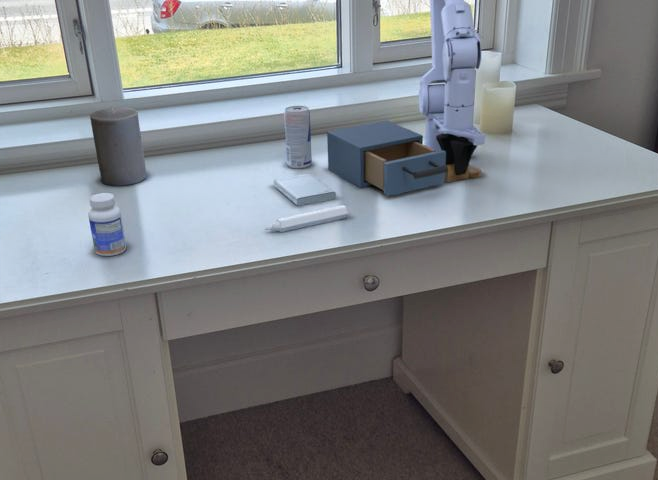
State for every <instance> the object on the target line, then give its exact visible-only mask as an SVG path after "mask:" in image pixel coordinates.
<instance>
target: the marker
mask: <svg viewBox="0 0 658 480" xmlns="http://www.w3.org/2000/svg"><path fill="white" fill-rule="evenodd" d="M348 215H349V213H348V209H347V206H345V205H344V204H342V205H336V206H332V207H327V208H321V209H318V210H313V211H309V212H308V211H307V212H304V213H299V214H294V215H289V216H285V217H281V218H277V219H276V221H274V223H272V224H270V225H269V226H268V227H265V228H264V231H265V230H267V231H275V232H279V233H286V232H289V231H293V230H299V229H303V228H308V227H312V226H316V225H321V224H326V223H330V222H334V221H339V220H344V219H347V217H348Z"/></svg>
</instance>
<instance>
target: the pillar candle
mask: <svg viewBox="0 0 658 480" xmlns="http://www.w3.org/2000/svg"><path fill="white" fill-rule="evenodd" d="M89 119H90V124H91V130H92V136H93V143H94V148H95V151H96V152H95V153H96V159H97V164H98V169H99V174H100V182H101V183H102V184H103V185H107V186H116V187H122V186H130V185H134V184H137V183H141V182H142V181H145V179H147V176H148V175H147V169H146V160H145V153H144V147H143V140H142V133H141V127H140V120H139V113H138V110H136V109H134V108H131V107H113V106H111V107H110V108H109V107H108V108H104V109H100V110H97V111H94V112H92V113H91V114H90V115H89Z"/></svg>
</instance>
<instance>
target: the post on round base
mask: <svg viewBox="0 0 658 480" xmlns="http://www.w3.org/2000/svg"><path fill="white" fill-rule="evenodd" d="M447 167H448V172H446V173H445V183H453V182H458V181H461V180H465V179H469V178H471V179H476V178H480V177H482V169H481V168H479V167H475V166H473V167H470V163H469V164H468V168H467V171H466V174H462V175H456V174H455V163H454V164H449V165H447Z"/></svg>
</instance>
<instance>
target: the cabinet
mask: <svg viewBox="0 0 658 480" xmlns="http://www.w3.org/2000/svg"><path fill="white" fill-rule="evenodd" d="M326 135H327V136H326V137H327V138H326V140H327V143H326V144H327V167H328V171H330V172H331V173H334V174H335V175H337V176H339V177H341V178H342V179H344V180H345V181H348V182H349V183H351V184H353V185H355V186H357V187H359V189H360V188H367V187H370V186H371V187H372V186H374V185H373V184H371V183H369V182H368V181H366V180H364V151H367V150H372V149H377V148H382V147H387V146H392V145H397V144H402V143H407V142H412V141H416V142H418V143H421V144H423V142H424V141H423V140H424V139H423V138H424V136H423V135H422V134H421V133H419V132H416V131H413V130H411V129H409V128H407V127H404V126H402V125H399V124H397V123H394V122H393V121H390V120H381V121H376V122H370V123H366V124H365V123H364V124H360V125H355V126H354V125H353V126H349V127H344V128H338V129H334V130H327V131H326ZM423 145H424V144H423Z"/></svg>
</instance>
